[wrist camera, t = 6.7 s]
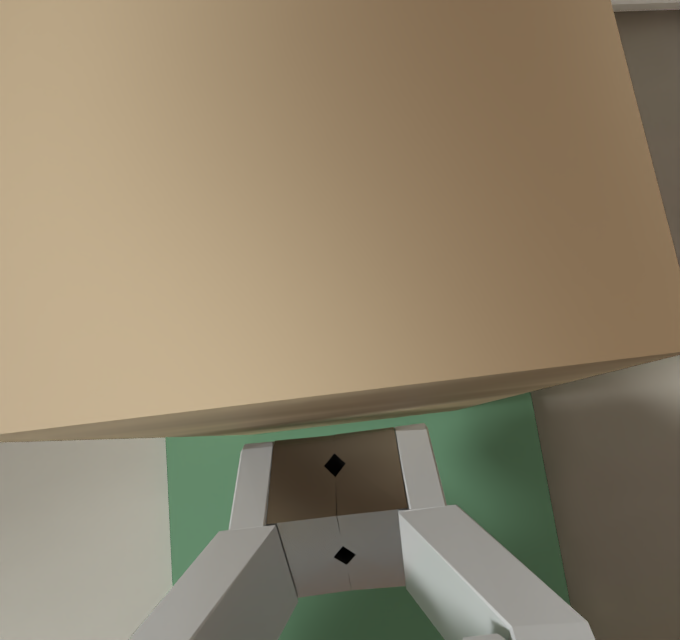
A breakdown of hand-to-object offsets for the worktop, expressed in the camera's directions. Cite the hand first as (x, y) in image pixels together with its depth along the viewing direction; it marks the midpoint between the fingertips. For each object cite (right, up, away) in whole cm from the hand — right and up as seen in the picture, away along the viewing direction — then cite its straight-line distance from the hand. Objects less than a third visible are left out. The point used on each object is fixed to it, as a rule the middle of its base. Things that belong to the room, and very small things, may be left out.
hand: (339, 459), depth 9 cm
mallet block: (0, +5, +5) cm, 7 cm away
